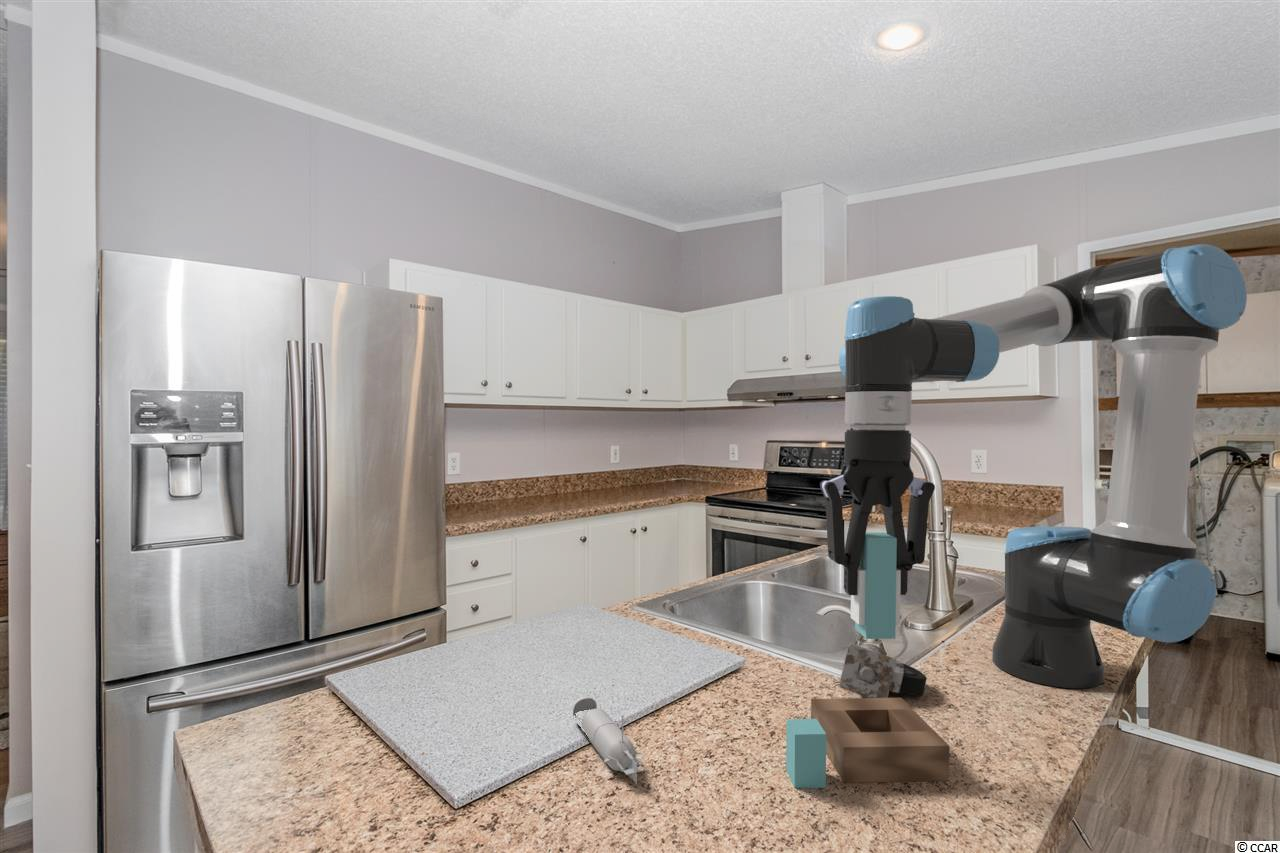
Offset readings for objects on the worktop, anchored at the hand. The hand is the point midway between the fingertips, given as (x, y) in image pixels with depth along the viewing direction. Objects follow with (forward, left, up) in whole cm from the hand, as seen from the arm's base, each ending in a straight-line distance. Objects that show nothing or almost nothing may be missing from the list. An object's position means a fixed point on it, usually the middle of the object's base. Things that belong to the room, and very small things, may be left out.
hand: (874, 620), depth 77 cm
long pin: (0, 0, -2) cm, 2 cm away
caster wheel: (-9, -18, -17) cm, 26 cm away
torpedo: (+33, -2, -17) cm, 37 cm away
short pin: (+10, +5, -16) cm, 20 cm away
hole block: (0, 0, -16) cm, 16 cm away
